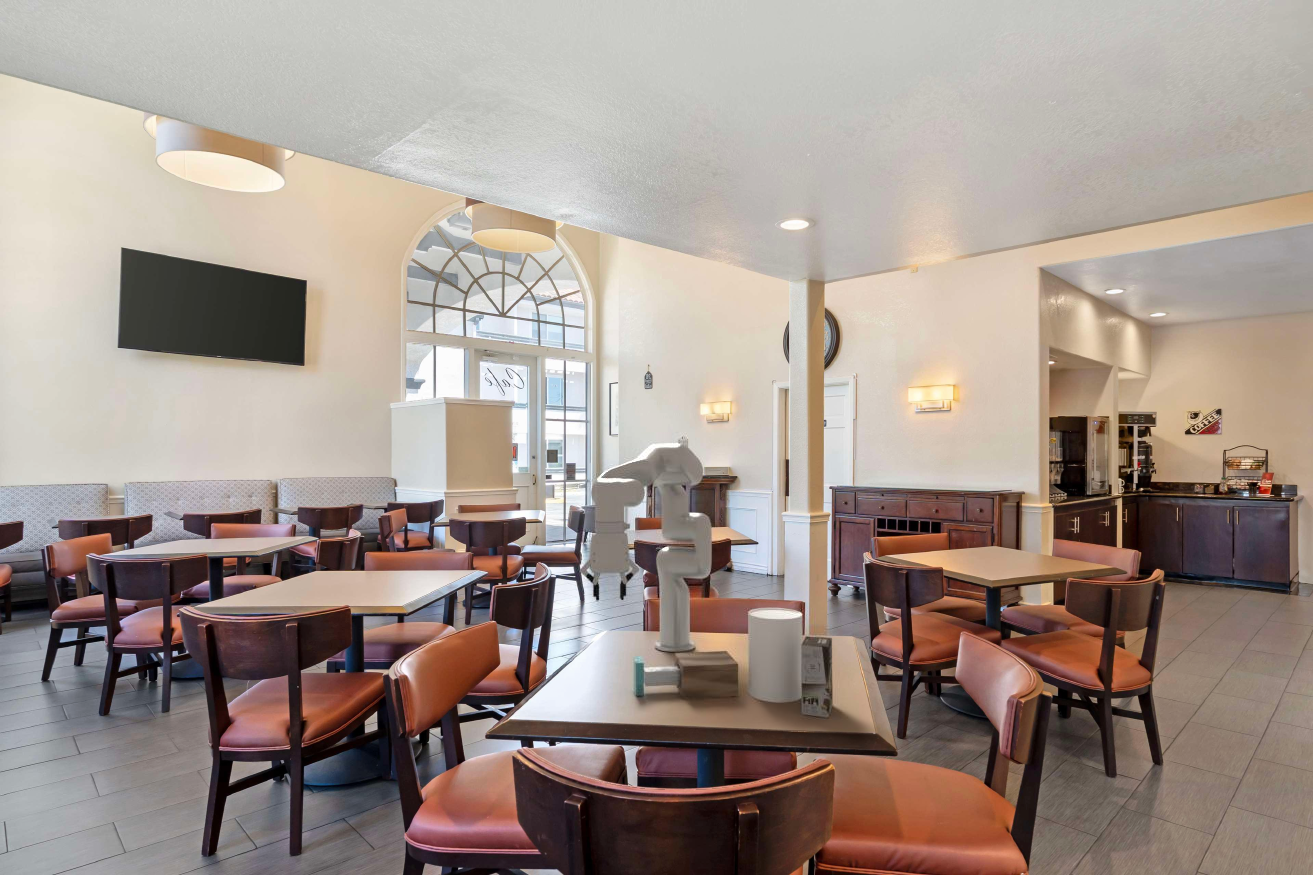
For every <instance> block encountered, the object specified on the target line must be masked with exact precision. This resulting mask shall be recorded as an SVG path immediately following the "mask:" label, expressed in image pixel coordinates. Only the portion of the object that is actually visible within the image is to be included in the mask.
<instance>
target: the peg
mask: <svg viewBox="0 0 1313 875" xmlns="http://www.w3.org/2000/svg"><path fill="white" fill-rule="evenodd" d="M676 685H680V667H679V666H675V665H673V666H672V665H671V666H655V667H653V666H652V667H651V666H650V667H645V663H644V660H643V657H642V656H639V657H638V656H637V657H636V656H635V657H633V691H634V694H635V696H637V697H638V696H645V687H659V686H676Z"/></svg>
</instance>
